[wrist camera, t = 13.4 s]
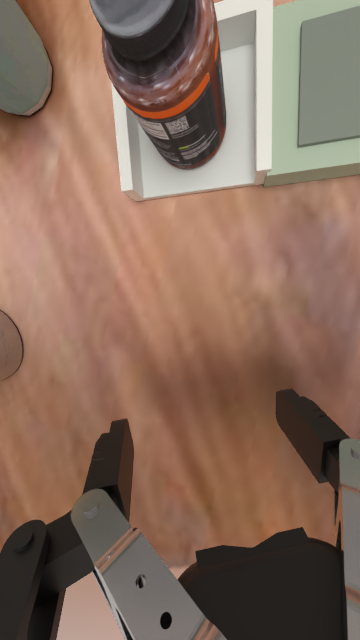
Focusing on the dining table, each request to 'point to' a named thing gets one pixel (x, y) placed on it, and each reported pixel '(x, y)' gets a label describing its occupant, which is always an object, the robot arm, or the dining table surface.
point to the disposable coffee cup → (21, 63)
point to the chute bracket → (241, 116)
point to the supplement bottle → (167, 72)
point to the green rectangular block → (315, 91)
